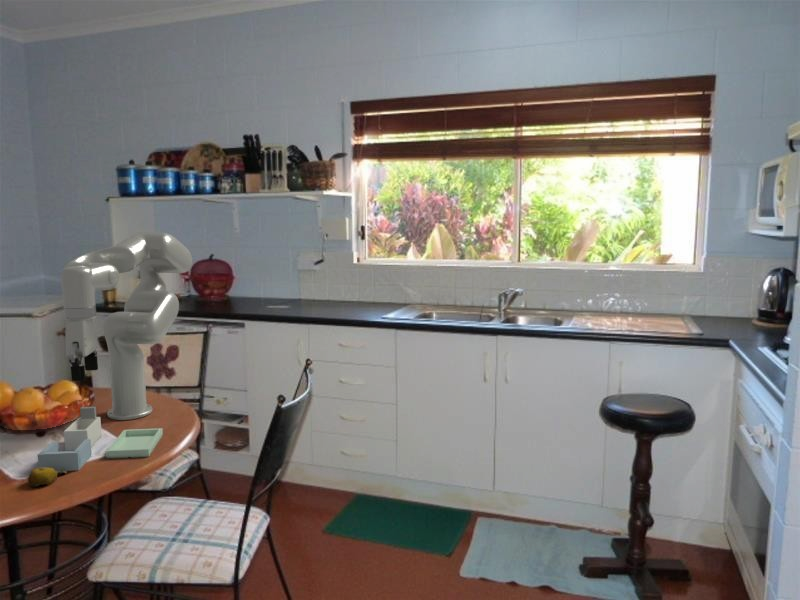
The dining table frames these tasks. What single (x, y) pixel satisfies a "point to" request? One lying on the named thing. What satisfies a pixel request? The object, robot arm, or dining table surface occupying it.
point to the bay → (64, 457)
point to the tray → (135, 443)
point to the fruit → (43, 476)
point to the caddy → (83, 429)
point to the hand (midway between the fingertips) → (85, 375)
